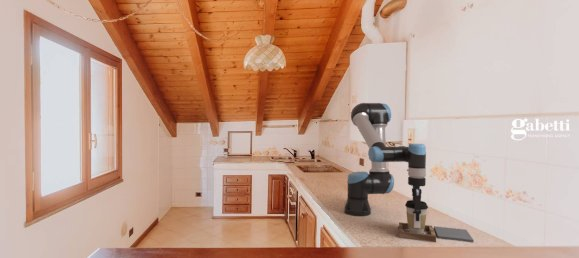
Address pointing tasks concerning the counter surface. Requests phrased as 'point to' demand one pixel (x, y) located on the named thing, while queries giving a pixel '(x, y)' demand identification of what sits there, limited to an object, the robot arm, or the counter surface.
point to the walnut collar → (416, 235)
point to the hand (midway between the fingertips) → (416, 223)
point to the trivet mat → (453, 234)
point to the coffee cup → (410, 216)
